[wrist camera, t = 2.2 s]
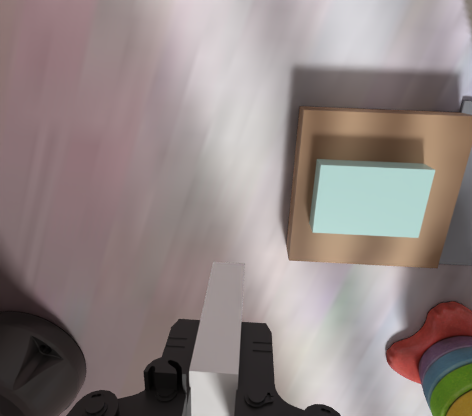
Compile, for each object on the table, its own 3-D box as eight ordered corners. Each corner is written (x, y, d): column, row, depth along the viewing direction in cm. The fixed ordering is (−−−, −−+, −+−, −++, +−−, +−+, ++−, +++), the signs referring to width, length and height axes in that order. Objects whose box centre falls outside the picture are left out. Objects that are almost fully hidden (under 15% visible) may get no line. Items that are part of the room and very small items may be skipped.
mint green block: (309, 223, 32) (312, 232, 30) (316, 159, 30) (320, 165, 28) (408, 228, 32) (418, 237, 30) (424, 163, 30) (435, 169, 28)
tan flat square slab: (286, 245, 36) (288, 260, 34) (299, 106, 31) (304, 109, 29) (423, 252, 36) (437, 268, 33) (459, 112, 31) (480, 116, 28)
